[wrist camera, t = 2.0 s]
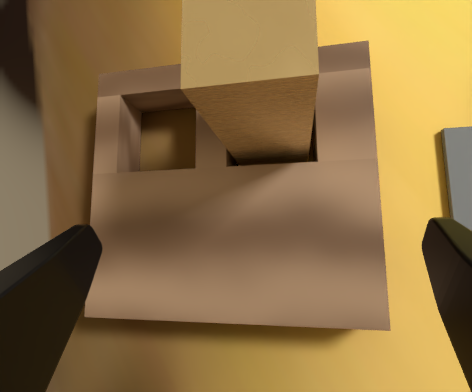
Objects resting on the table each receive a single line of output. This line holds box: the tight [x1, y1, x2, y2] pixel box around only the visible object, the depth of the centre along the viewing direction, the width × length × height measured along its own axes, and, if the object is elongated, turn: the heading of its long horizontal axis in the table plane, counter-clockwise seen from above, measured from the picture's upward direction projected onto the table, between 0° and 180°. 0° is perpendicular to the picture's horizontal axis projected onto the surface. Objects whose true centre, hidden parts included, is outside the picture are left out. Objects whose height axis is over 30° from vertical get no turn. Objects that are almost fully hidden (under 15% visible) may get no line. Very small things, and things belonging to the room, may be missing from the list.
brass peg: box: [181, 0, 319, 166], centre depth 16 cm, size 4×4×12 cm
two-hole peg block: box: [84, 41, 390, 331], centre depth 20 cm, size 16×18×3 cm
